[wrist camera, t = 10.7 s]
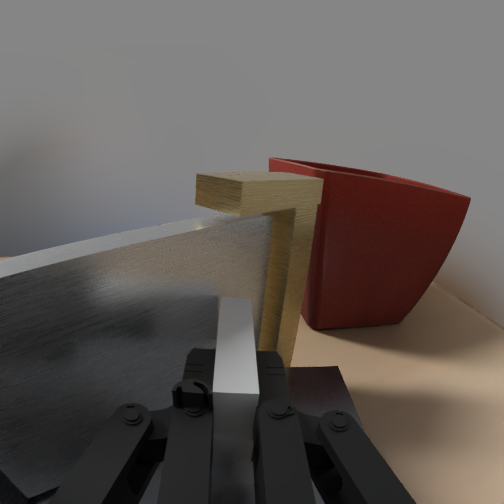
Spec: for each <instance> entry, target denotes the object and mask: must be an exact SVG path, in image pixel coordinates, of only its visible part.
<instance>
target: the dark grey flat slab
mask: <svg viewBox="0 0 504 504" xmlns="http://www.w3.org/2000/svg"><path fill="white" fill-rule="evenodd" d="M284 369H285V376H286V379H287V384H288V389H289V394H290V399H291V402H292V404H293V405H294V406H295V407H296V409H297V410H299V411H300V412H302V413H305V414H308V415H312V416H317V417H322V415H323V414H324V413H326V412H328V411H333V410H339V411H344V412H346V413H348V414H350V415H351V416H352V417H353V418H354V419H355V420H356V421H357V423H358V424H359V426H360V427H361V428H362V430H363V431H364V429H363V427H362V424H361V422H360V419H359V417H358V414H357V412H356V409H355V407H354V404H353V402H352V399H351V397H350V395H349V392H348V390H347V387H346V385H345V382H344V380H343V378H342V375H341V373H340V370H339V368H338V366H328V367H284ZM364 433H365V432H364ZM253 445H254V444H253V439H252V440H231V439H213V465H212V490H211V504H255V490H254V473H253V461H251V456H252V451H253ZM163 463H164V461H162V462H160V464H159V466H158V467H157V469H156V471H155V473H154V475H153V477H152V479H151V481H150V483H149V485H148V487H147V489H146V491H145V493H144V494H143V496H142V498H141V500H140V502H139V504H157V500H158V494H159V487H160V481H161V475H162V469H163ZM311 481H312V479H311ZM60 486H61V485H60ZM60 486H58V487H55V488H53V489H51V490H48V491H46V492H43V493H41V494H38V495H36V496H33V497H31V498H28V503H27V504H48V503H49V501H50V500H51V498H52V497H53V496H54V494H55V493H56V491H57V490H58V489H59V487H60ZM312 486H313V491H314V496H315V501H316V504H325V503H324V502H323V500H322V498H321V496H320V494H319V492H318V490H317V489H316V487H315V485H314V483H313V481H312Z"/></svg>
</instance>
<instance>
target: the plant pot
mask: <svg viewBox="0 0 504 504" xmlns="http://www.w3.org/2000/svg"><path fill="white" fill-rule="evenodd" d="M269 172H286V173H293V174H299V175H305V176H311V177H316V178H321V179H324V180H323V189H322V196H321V204H318V206H317V213H316V220H315V227H314V234H313V241H312V248H311V254H310V261H309V267H308V273H307V279H306V285H305V291H304V297H303V303H302V308H301V314H302V316H303V318H304V320H305V321H306V323H307V324H308V325H309V326H310V327H312V328H315V329H325V328H344V327H358V326H371V325H383V324H393V323H399V322H401V321H402V320H403V319H404V317H405V316H406V315H407V314H408V313H409V312H410V311H411V310H412V308H413V307H414V306H415V304H416V303H417V302H418V300H419V299H420V298H421V296H422V295H423V294H424V292H425V291H426V290H427V288H428V287H429V285H430V284H431V282H432V281H433V279H434V278H435V276H436V275H437V273H438V271H439V270H440V268H441V266H442V264H443V263H444V261H445V259H446V257H447V256H448V253H449V252H450V250H451V248H452V246H453V244H454V242H455V240H456V237H457V235H458V233H459V231H460V228H461V226H462V224H463V221H464V219H465V215H466V213H467V210H468V207H469V204H470V200H471V198H470V197H467V196H464V195H461V194H458V193H454V192H451V191H448V190H445V189H442V188H439V187H435V186H431V185H428V184H424V183H420V182H417V181H413V180H409V179H404V178H400V177H396V176H391V175H387V174H382V173H376V172H371V171H365V170H360V169H354V168H347V167H341V166H335V165H329V164H322V163H314V162H307V161H306V162H305V161H299V160H290V159H279V158H269Z"/></svg>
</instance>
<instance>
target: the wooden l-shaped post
mask: <svg viewBox="0 0 504 504" xmlns="http://www.w3.org/2000/svg"><path fill="white" fill-rule="evenodd" d="M323 180H324V179H321V178H316V177H311V176H305V175H299V174H293V173H286V172H232V173H205V174H204V173H203V174H197V177H196V197H195V204H196V205H200V206H203V207H207V208H211V209H214V210H218V211H221V212H225V213H228V214H232V215H235V216H239V217H242V216H248V215H254V214H260V213H270V214H274V215H273V224H272V234H271V243H270V252H269V261H268V270H267V279H266V288H265V297H264V306H263V314H262V322H261V331H260V339H259V347H258V351H276V352H277V353H278V354H279V355H280V356H281V358H282V359H283V364H284V367H290V365H291V360H292V355H293V350H294V345H295V340H296V335H297V330H298V325H299V319H300V314H301V308H302V303H303V297H304V291H305V285H306V279H307V273H308V267H309V261H310V254H311V248H312V241H313V234H314V227H315V220H316V213H317V206H318V204H321V196H322V189H323Z"/></svg>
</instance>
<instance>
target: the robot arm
mask: <svg viewBox="0 0 504 504" xmlns="http://www.w3.org/2000/svg"><path fill="white" fill-rule="evenodd" d="M172 397H173V405H172V406H170V407H168V408H166V409H162V410H155V411H149V410H148V409H147V408H146V407H145V406H143V405H141V404H137V403H127V404H124V405H122V406H120V407H118V408H117V409H116V410H115V411H114V413H113V414H112V415H111V417H110V418H109V420H108V421H107V422H106V424H105V425H104V426H103V428H102V429H101V430H100V432H99V433H98V435H97V436H96V437H95V439H94V440H93V441H92V443H91V444H90V446H89V447H88V448H87V450H86V451H85V452H84V454H83V455H82V457H81V458H80V459H79V461H78V462H77V463H76V465H75V466H74V468H73V469H72V470H71V472H70V473H69V475H68V476H67V477H66V479H65V480H64V482H63V483H62V484H61V486H60V487H59V489H58V490H57V491H56V493H55V494H54V496H53V497H52V498H51V500H50V501H49V503H48V504H139V502H140V500H141V498H142V496H143V494H144V493H145V491H146V489H147V487H148V485H149V483H150V481H151V479H152V477H153V475H154V473H155V471H156V469H157V467H158V466H159V464H160V462H162V461H164V463H163V469H162V475H161V481H160V487H159V494H158V500H157V504H211V490H212V465H213V439H231V440H252V439H253V444H254V445H253V451H252V456H251V461H253V473H254V490H255V504H316V501H315V496H314V491H313V486H312V481H313V483H314V485H315V487H316V489H317V490H318V492H319V494H320V496H321V498H322V500H323V502H324V503H325V504H416V502H415V501H414V500H413V498H412V497H411V496H410V494H409V493H408V492H407V490H406V489H405V488H404V486H403V485H402V483H401V482H400V481H399V479H398V478H397V477H396V475H395V474H394V473H393V471H392V470H391V468H390V467H389V466H388V464H387V463H386V462H385V460H384V459H383V457H382V456H381V455H380V453H379V452H378V451H377V449H376V448H375V446H374V445H373V444H372V442H371V441H370V439H369V438H368V437H367V435H366V434H365V433H364V431H363V430H362V428H361V427H360V426H359V424H358V423H357V421H356V420H355V419H354V418H353V417H352V416H351V415H350V414H348V413H346V412H344V411H339V410H333V411H328V412H326V413H324V414H323V415H322V417H317V416H312V415H308V414H305V413H302V412H300V411H299V410H297V409H296V407H295V406H294V405H293V404H292V402H291V399H290V394H289V389H288V384H287V379H286V376H285V369H284V364H283V359H282V358H281V356H280V355H279V354H278V353H277V352H276V351H255V339H254V328H253V317H252V305H251V299H248V298H230V297H221V302H220V312H219V323H218V334H217V345H216V349H202V348H193V349H192V350H191V351H190V352H189V354H188V355H187V358H186V363H185V368H184V373H183V378H182V381H180V382H178V383H177V384H176V385H174V387H173V389H172ZM311 479H312V481H311Z"/></svg>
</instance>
